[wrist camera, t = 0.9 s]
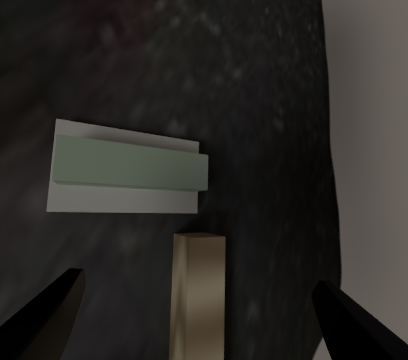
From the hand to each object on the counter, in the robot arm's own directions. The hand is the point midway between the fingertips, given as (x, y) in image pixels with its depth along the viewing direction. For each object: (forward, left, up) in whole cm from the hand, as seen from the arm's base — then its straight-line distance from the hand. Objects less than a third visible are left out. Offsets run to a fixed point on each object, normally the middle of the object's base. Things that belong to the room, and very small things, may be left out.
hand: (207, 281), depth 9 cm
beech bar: (-7, -5, -14) cm, 16 cm away
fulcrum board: (+6, +1, -13) cm, 15 cm away
